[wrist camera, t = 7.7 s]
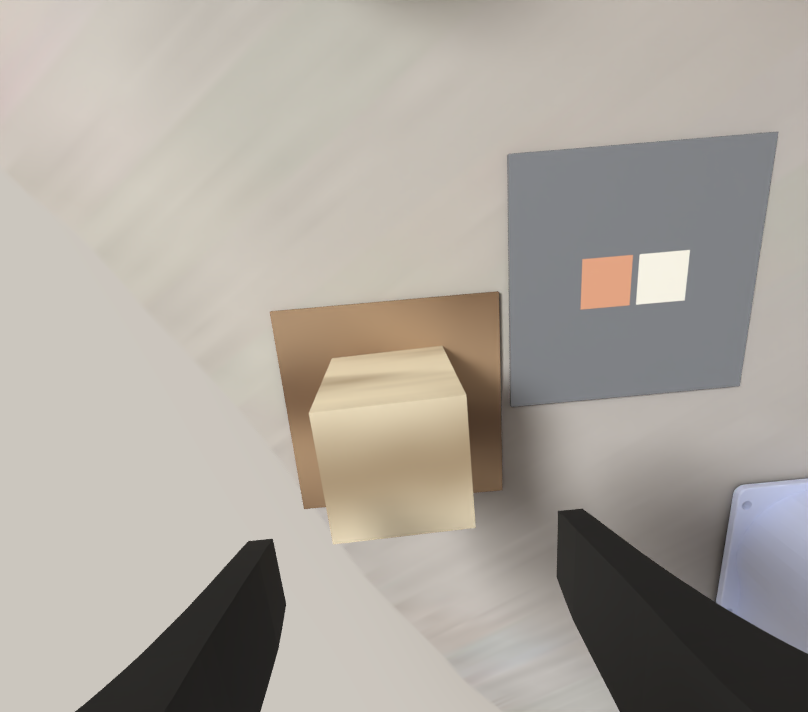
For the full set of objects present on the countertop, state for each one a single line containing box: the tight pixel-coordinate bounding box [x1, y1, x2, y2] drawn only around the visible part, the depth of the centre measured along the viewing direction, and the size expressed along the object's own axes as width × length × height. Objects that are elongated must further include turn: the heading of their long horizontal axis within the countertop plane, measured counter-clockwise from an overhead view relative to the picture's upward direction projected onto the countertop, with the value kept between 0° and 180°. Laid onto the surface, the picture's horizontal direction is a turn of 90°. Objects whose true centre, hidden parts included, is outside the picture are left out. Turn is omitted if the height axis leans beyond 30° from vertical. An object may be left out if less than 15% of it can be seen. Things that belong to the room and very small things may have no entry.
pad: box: [270, 291, 502, 509], centre depth 20 cm, size 10×10×1 cm
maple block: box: [309, 346, 476, 544], centre depth 17 cm, size 5×5×6 cm
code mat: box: [507, 132, 778, 407], centre depth 19 cm, size 11×11×1 cm
